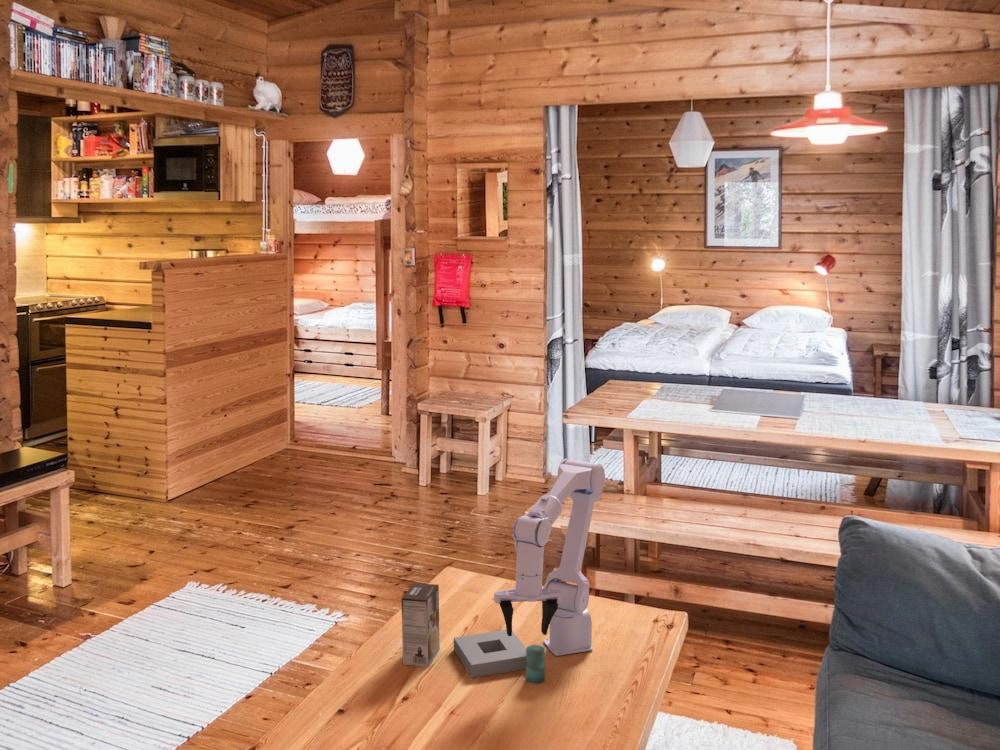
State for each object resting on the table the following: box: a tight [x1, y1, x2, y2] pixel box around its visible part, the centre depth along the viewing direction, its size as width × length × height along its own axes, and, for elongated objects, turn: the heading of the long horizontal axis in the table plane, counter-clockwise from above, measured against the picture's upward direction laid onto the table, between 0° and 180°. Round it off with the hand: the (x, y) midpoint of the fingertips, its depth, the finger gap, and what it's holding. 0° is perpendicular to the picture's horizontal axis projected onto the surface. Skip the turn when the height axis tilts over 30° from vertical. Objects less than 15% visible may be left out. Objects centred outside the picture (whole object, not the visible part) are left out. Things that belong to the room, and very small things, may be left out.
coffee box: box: [400, 582, 441, 668], centre depth 208 cm, size 9×6×16 cm
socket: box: [453, 629, 527, 679], centre depth 208 cm, size 14×14×3 cm
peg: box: [525, 644, 546, 685], centre depth 198 cm, size 4×4×7 cm
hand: (526, 633), depth 196 cm, fingers open, 7 cm apart
